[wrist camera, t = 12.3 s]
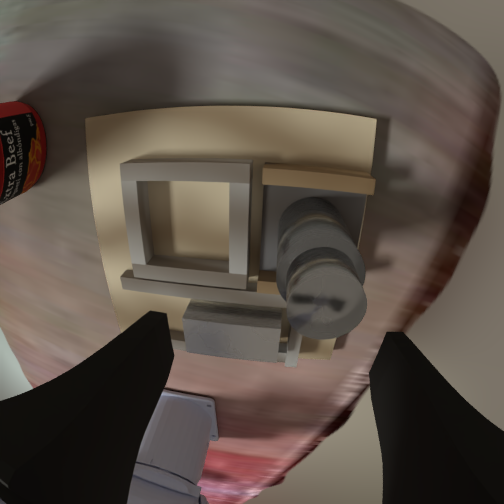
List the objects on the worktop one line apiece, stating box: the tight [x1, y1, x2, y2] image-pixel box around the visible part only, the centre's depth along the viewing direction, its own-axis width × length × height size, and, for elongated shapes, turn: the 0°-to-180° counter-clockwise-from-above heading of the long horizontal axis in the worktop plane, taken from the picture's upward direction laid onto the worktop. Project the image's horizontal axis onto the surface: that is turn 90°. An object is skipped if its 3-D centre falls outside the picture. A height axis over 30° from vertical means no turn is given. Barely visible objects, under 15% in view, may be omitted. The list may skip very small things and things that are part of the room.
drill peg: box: [276, 197, 367, 340], centre depth 13 cm, size 4×4×7 cm
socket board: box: [85, 106, 377, 367], centre depth 17 cm, size 17×17×3 cm
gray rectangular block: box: [182, 299, 282, 363], centre depth 19 cm, size 3×6×2 cm, turn 88°
